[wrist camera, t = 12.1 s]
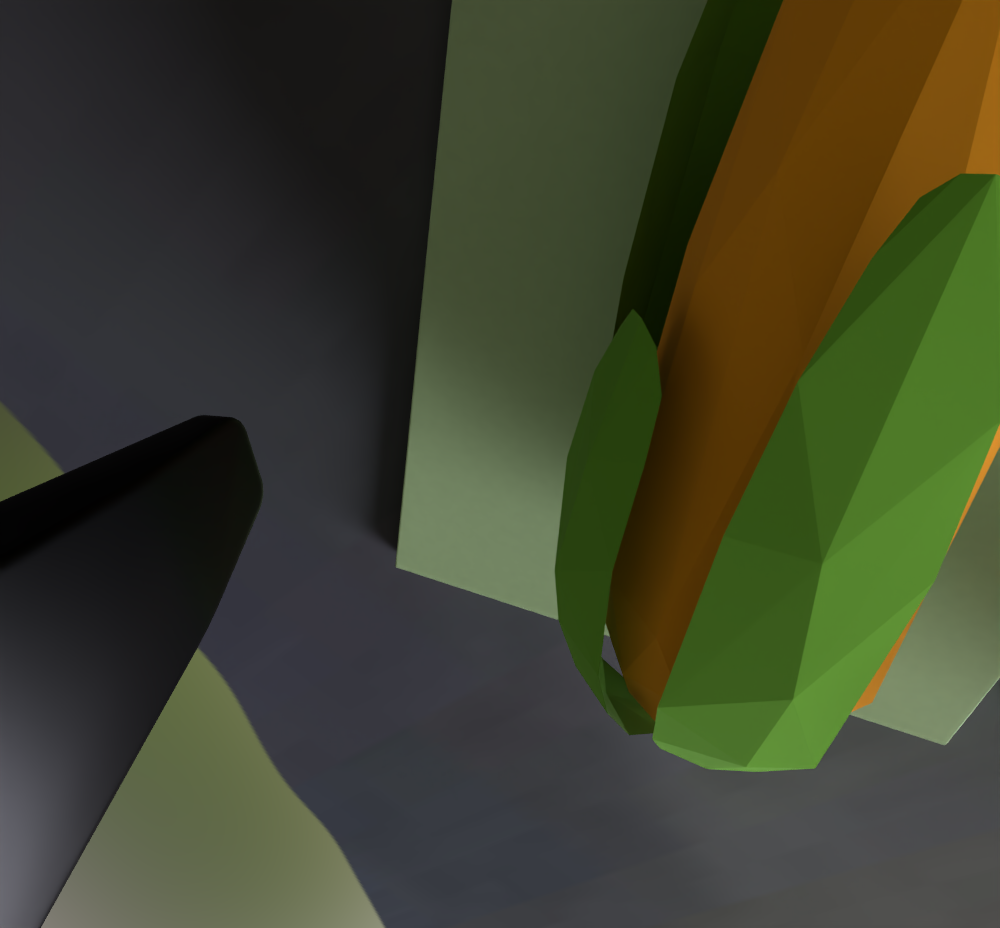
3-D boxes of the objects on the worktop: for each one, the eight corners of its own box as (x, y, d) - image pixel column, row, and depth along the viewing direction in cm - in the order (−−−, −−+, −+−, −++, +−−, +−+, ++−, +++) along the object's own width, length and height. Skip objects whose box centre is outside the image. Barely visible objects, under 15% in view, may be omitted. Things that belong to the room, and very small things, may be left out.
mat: (400, 556, 27) (394, 567, 26) (535, -727, 12) (525, -745, 11) (943, 731, 25) (945, 746, 24) (1962, -563, 10) (2011, -578, 9)
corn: (491, 828, 19) (739, -698, 6) (553, 574, 25) (745, -469, 12) (855, 922, 18) (1990, -625, 5) (828, 636, 24) (1340, -416, 11)
